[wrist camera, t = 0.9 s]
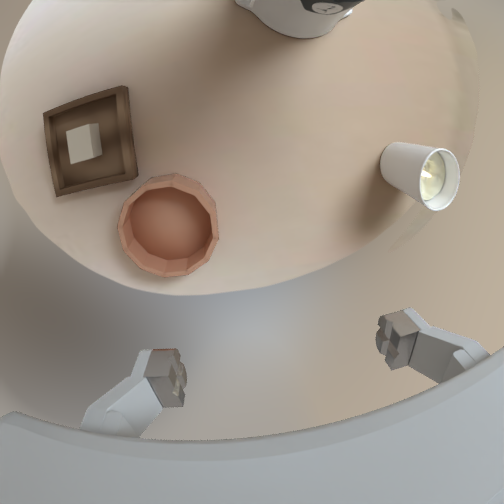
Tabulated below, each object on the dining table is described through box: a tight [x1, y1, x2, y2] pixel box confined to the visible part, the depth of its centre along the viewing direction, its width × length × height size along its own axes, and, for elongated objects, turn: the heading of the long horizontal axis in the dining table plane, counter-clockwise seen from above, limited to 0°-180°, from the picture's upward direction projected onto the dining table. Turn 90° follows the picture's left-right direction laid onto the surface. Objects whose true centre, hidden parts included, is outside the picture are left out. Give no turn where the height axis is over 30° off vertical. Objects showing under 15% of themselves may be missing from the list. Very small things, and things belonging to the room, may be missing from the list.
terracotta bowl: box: [117, 174, 219, 277], centre depth 39 cm, size 15×15×5 cm
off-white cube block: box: [66, 123, 103, 164], centre depth 31 cm, size 5×4×4 cm
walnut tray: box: [43, 86, 138, 197], centre depth 32 cm, size 14×14×3 cm
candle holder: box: [380, 142, 460, 211], centre depth 37 cm, size 10×10×12 cm
